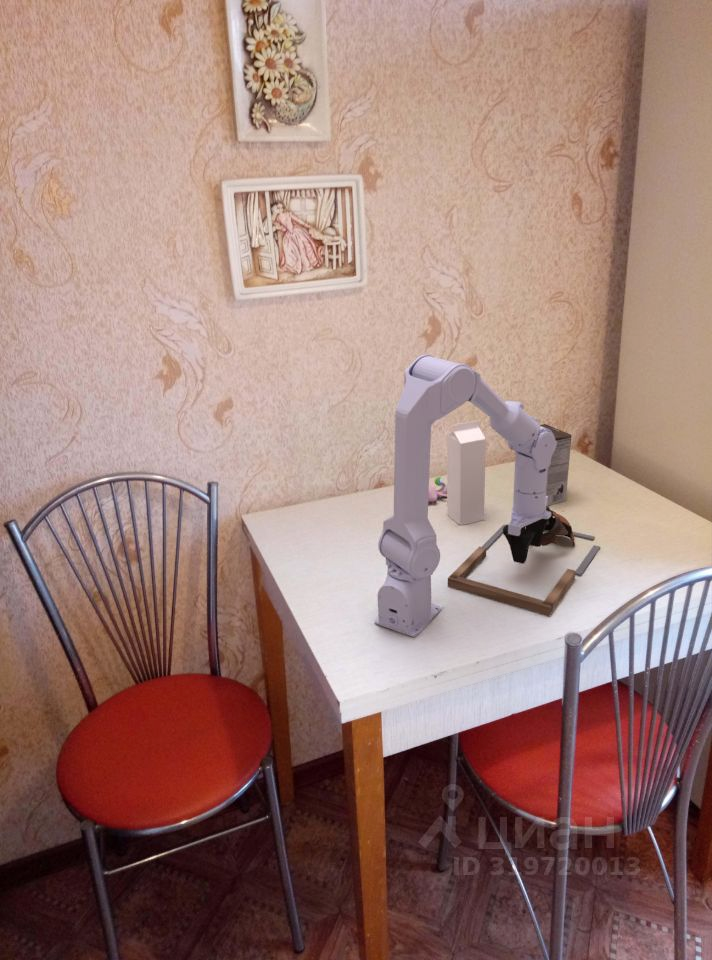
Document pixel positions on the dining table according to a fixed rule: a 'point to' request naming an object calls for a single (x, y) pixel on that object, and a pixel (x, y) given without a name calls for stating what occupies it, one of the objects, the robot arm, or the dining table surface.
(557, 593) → the walnut holder
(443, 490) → the rabbit figure
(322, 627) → the dining table surface
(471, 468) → the milk
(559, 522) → the pottery mug
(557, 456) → the coffee box
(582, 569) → the grey open frame
